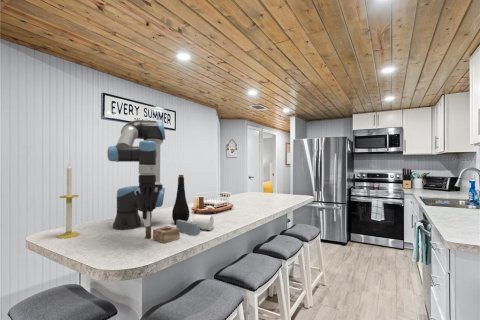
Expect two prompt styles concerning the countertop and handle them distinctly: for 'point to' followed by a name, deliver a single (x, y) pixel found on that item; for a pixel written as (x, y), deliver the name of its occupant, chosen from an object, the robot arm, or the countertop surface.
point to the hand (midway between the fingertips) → (146, 225)
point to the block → (166, 234)
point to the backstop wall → (188, 227)
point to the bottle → (180, 203)
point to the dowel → (148, 231)
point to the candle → (69, 207)
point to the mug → (203, 221)
